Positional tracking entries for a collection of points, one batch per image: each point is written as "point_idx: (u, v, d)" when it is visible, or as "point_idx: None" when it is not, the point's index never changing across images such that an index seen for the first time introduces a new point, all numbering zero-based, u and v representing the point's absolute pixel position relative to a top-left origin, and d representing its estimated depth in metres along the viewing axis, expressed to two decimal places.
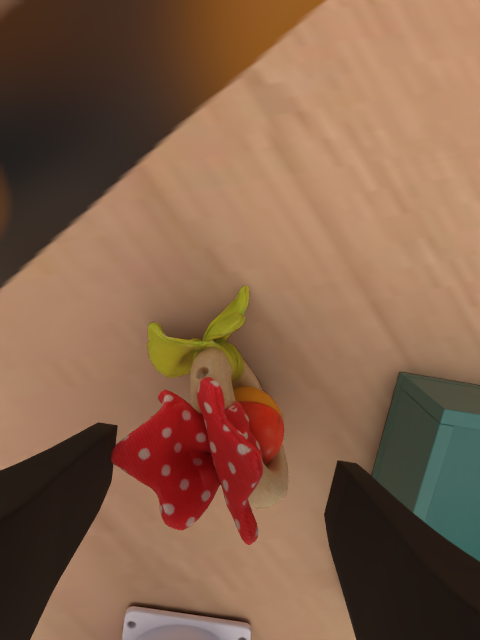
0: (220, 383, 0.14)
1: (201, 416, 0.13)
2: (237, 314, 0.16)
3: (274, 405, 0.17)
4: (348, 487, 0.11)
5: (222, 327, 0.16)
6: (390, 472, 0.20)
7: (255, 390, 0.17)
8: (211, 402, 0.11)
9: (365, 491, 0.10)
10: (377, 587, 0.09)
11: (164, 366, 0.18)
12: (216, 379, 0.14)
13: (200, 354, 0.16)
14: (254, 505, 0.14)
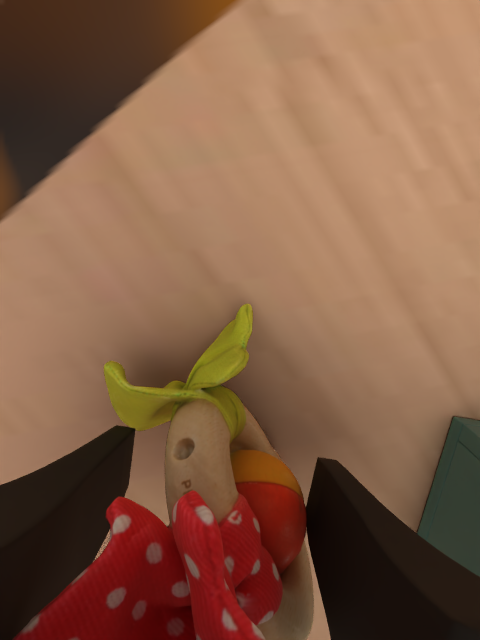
0: (213, 470, 0.09)
1: None
2: (237, 349, 0.11)
3: (293, 482, 0.11)
4: (326, 484, 0.11)
5: (215, 371, 0.10)
6: None
7: (264, 459, 0.11)
8: (198, 557, 0.06)
9: (341, 487, 0.10)
10: (349, 583, 0.08)
11: (131, 420, 0.13)
12: (206, 463, 0.09)
13: (182, 412, 0.11)
14: None
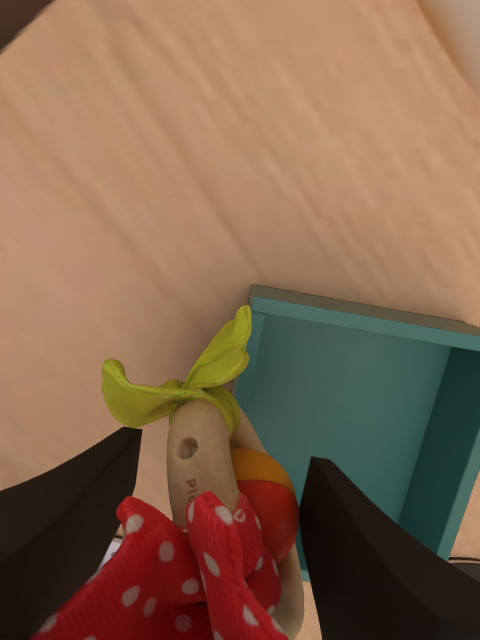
0: (217, 469, 0.09)
1: (191, 546, 0.07)
2: (237, 350, 0.11)
3: (287, 481, 0.12)
4: (318, 483, 0.11)
5: (217, 372, 0.10)
6: None
7: (259, 458, 0.12)
8: (218, 555, 0.06)
9: (333, 486, 0.10)
10: (340, 582, 0.08)
11: (126, 417, 0.13)
12: (211, 462, 0.09)
13: (182, 411, 0.11)
14: None
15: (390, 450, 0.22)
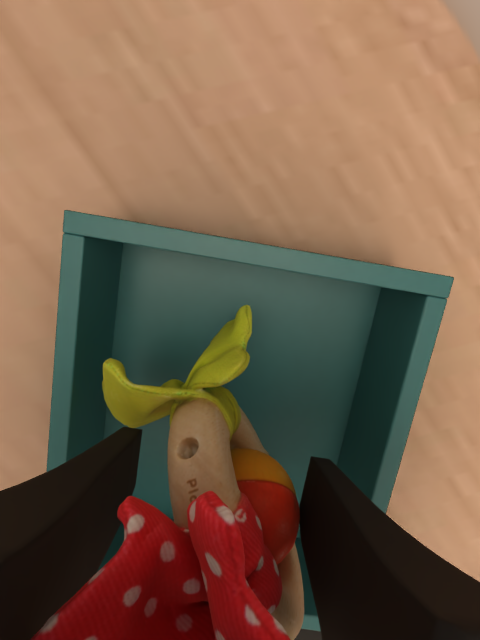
0: (218, 469, 0.09)
1: (192, 546, 0.07)
2: (238, 350, 0.11)
3: (288, 481, 0.12)
4: (318, 483, 0.11)
5: (218, 372, 0.10)
6: None
7: (260, 457, 0.12)
8: (220, 555, 0.06)
9: (332, 486, 0.10)
10: (340, 582, 0.08)
11: (126, 417, 0.13)
12: (212, 462, 0.09)
13: (183, 411, 0.11)
14: None
15: (306, 436, 0.17)
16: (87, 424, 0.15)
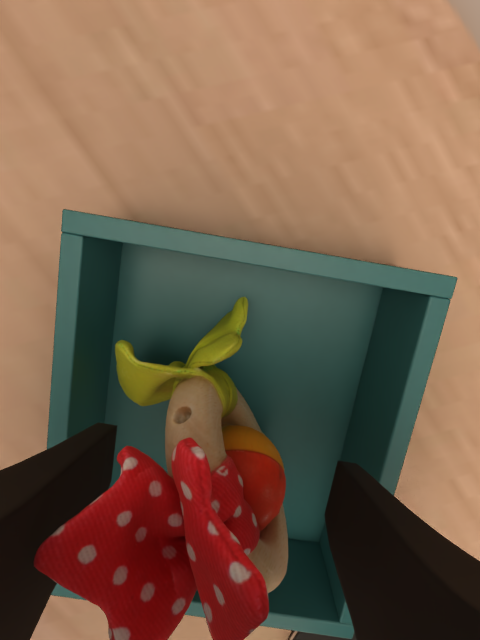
0: (206, 432, 0.10)
1: None
2: (232, 335, 0.13)
3: (275, 454, 0.13)
4: (348, 488, 0.11)
5: (212, 352, 0.12)
6: None
7: (251, 432, 0.13)
8: (191, 483, 0.07)
9: (365, 491, 0.10)
10: (377, 587, 0.09)
11: (136, 394, 0.14)
12: (201, 426, 0.10)
13: (181, 386, 0.12)
14: None
15: (307, 437, 0.17)
16: (86, 426, 0.15)
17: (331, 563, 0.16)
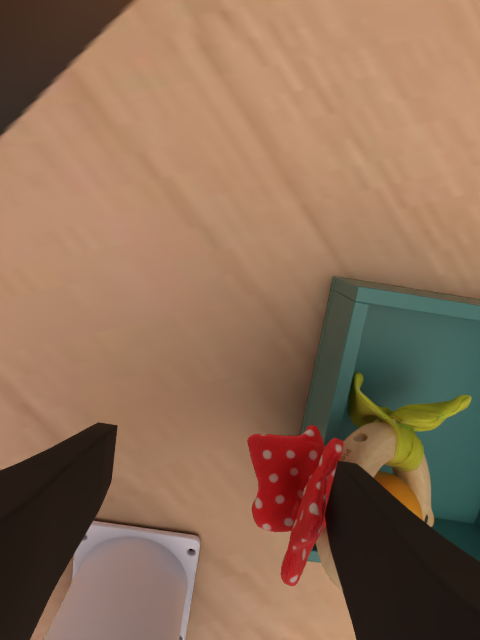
0: (365, 456, 0.15)
1: None
2: (433, 414, 0.16)
3: None
4: (348, 487, 0.11)
5: (407, 415, 0.16)
6: (322, 370, 0.20)
7: (407, 492, 0.16)
8: (325, 458, 0.13)
9: (365, 491, 0.10)
10: (377, 587, 0.09)
11: (351, 412, 0.20)
12: (364, 451, 0.15)
13: (375, 423, 0.17)
14: (328, 573, 0.15)
15: (472, 441, 0.22)
16: None
17: None
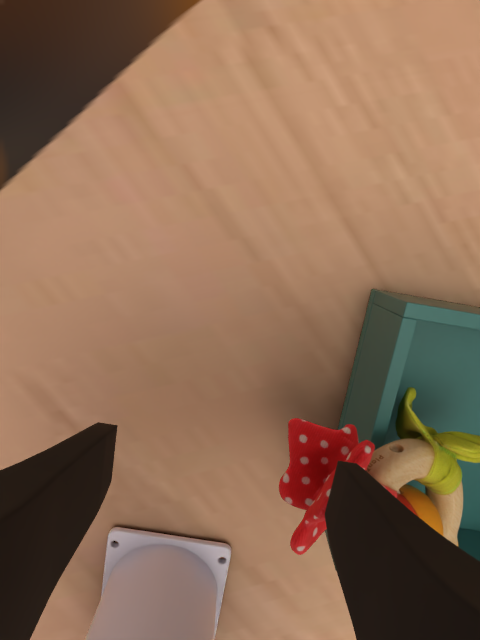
0: (395, 466, 0.16)
1: None
2: (478, 447, 0.16)
3: None
4: (348, 488, 0.11)
5: (449, 440, 0.16)
6: (361, 382, 0.20)
7: (432, 512, 0.16)
8: (352, 455, 0.14)
9: (365, 491, 0.10)
10: (377, 587, 0.09)
11: (398, 424, 0.20)
12: (396, 461, 0.16)
13: (416, 440, 0.17)
14: None
15: None
16: None
17: None
